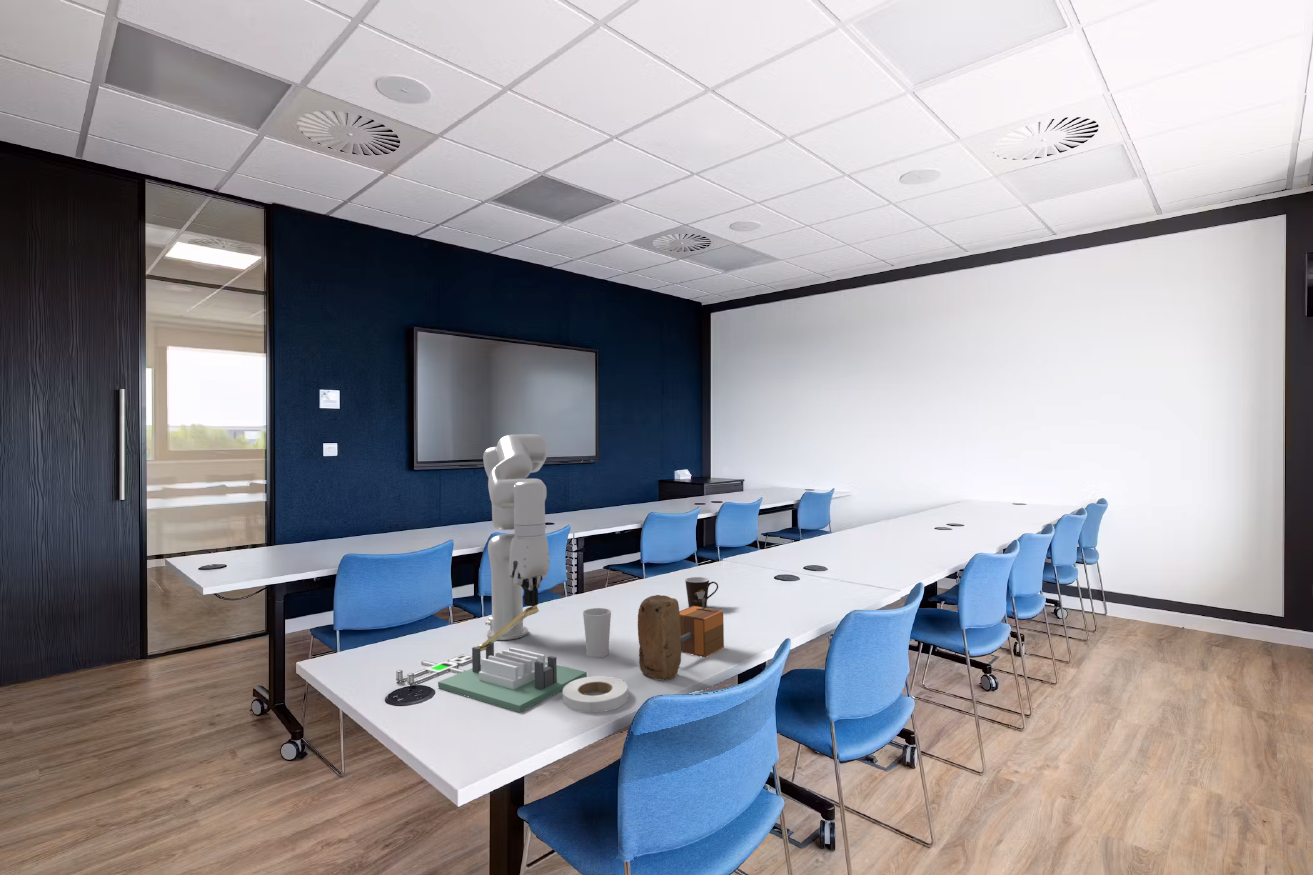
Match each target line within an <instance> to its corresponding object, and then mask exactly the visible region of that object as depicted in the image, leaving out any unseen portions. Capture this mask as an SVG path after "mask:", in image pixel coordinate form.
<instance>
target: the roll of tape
mask: <svg viewBox="0 0 1313 875" xmlns="http://www.w3.org/2000/svg"><path fill="white" fill-rule="evenodd" d="M598 692H599V693H601V694H598V695H597V694H596V695H593V694H592V695H589V694H590V693H598ZM628 700H629V686H628V684H627V682H626V681H625V680H624V679H620V678H618V677H614V676H608V675H593V676H587V677H584V678H580V679H577V680H574V681H572V682H570V683H568V684H567V685H566V686H565V687H564V688H563V690H562V704H563V705H564V706H565V707H567V708H568V709H569V710H572V711H576V712H580V711H581V712H582V713H599V712H598V711H602V712H606V711H605V710H608V711H611V710H614V708H615V709H617V708H619V706H620V707H622V706H623V705H625V704H626V703H627V702H628Z"/></svg>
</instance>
